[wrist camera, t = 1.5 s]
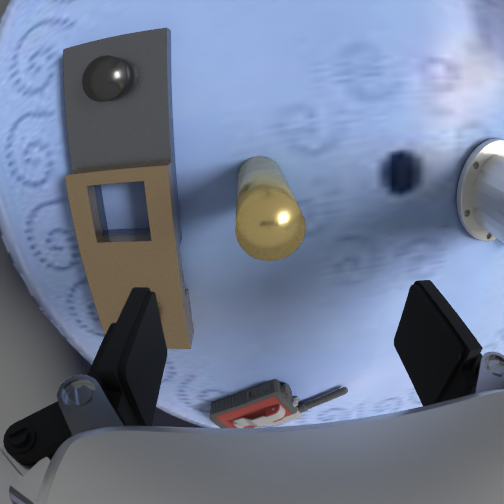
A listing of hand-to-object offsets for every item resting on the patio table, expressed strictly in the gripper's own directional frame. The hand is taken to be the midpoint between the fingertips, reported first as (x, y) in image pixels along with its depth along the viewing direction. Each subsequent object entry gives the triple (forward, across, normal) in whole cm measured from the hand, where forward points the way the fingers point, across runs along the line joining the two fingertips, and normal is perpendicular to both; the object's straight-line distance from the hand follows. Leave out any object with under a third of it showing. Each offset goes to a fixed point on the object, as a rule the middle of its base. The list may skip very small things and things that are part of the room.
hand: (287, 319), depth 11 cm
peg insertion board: (+20, +13, +2) cm, 24 cm away
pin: (+20, 0, 0) cm, 20 cm away
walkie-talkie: (+21, -3, +32) cm, 38 cm away
